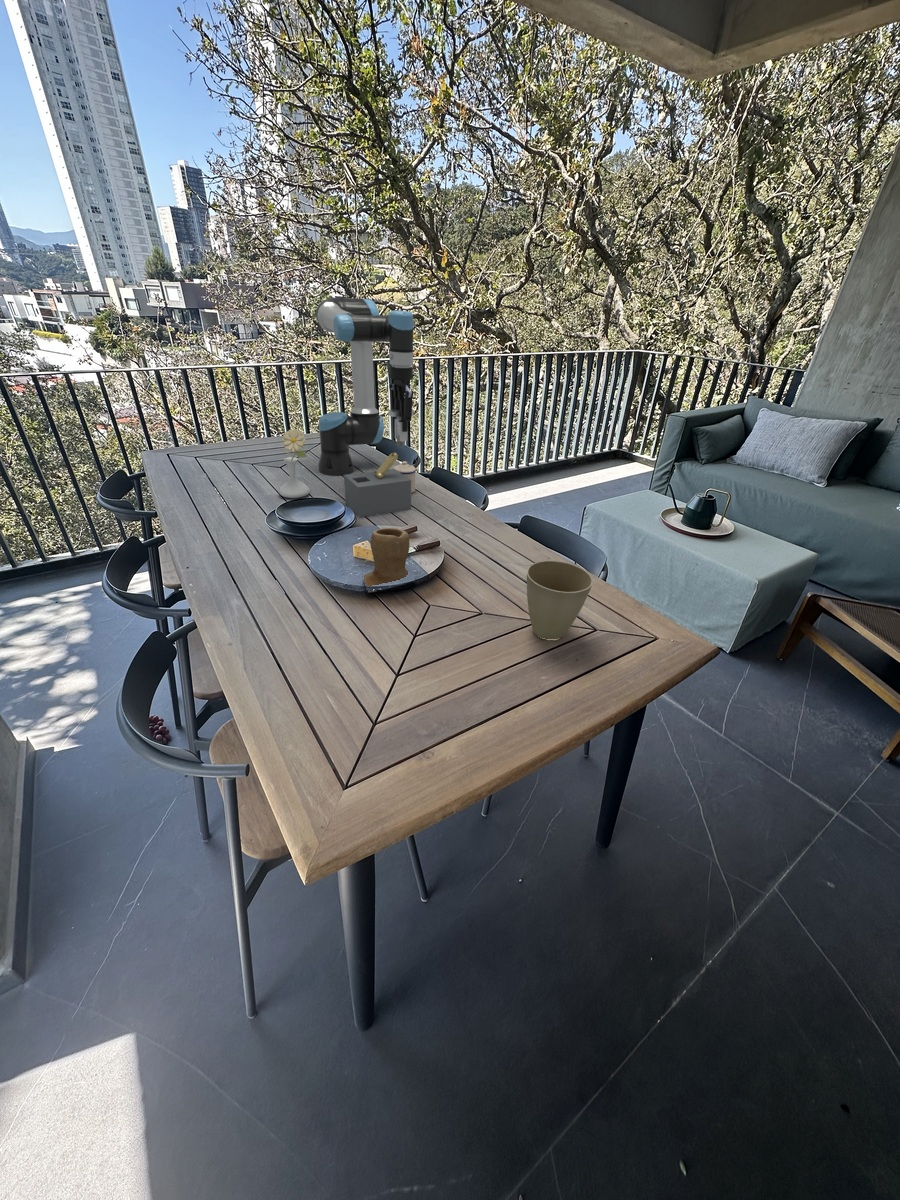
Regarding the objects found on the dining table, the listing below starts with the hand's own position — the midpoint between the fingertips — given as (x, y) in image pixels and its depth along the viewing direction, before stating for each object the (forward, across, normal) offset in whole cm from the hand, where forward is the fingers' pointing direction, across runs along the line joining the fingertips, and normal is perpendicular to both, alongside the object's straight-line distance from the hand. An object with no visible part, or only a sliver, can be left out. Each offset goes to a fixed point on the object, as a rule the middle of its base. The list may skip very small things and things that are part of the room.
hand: (401, 439), depth 174 cm
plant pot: (+24, +89, -5) cm, 93 cm away
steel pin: (+2, 0, 0) cm, 2 cm away
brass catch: (+10, -2, -4) cm, 11 cm away
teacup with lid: (+25, -13, +7) cm, 29 cm away
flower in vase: (+25, -24, -32) cm, 47 cm away
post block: (+24, -2, -8) cm, 26 cm away
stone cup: (+24, +50, -30) cm, 63 cm away
